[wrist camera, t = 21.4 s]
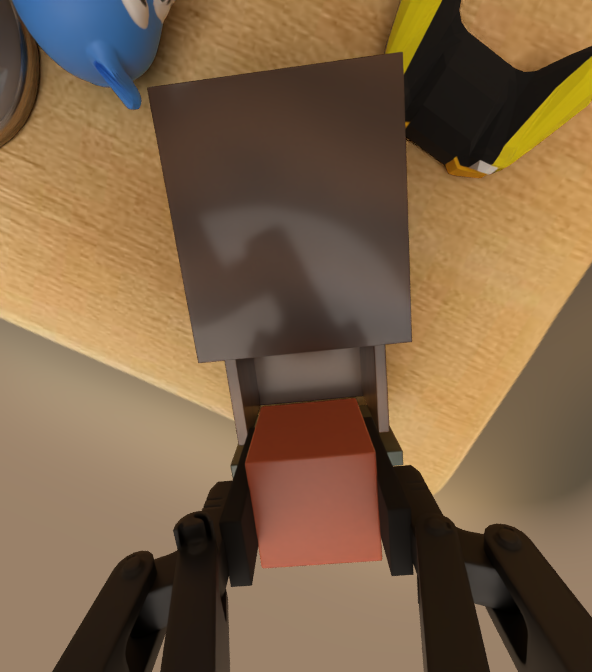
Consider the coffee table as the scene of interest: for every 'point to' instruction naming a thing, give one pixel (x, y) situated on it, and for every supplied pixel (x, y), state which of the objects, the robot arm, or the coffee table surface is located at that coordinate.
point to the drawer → (312, 387)
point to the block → (314, 485)
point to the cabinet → (290, 206)
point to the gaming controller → (478, 91)
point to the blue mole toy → (99, 38)
